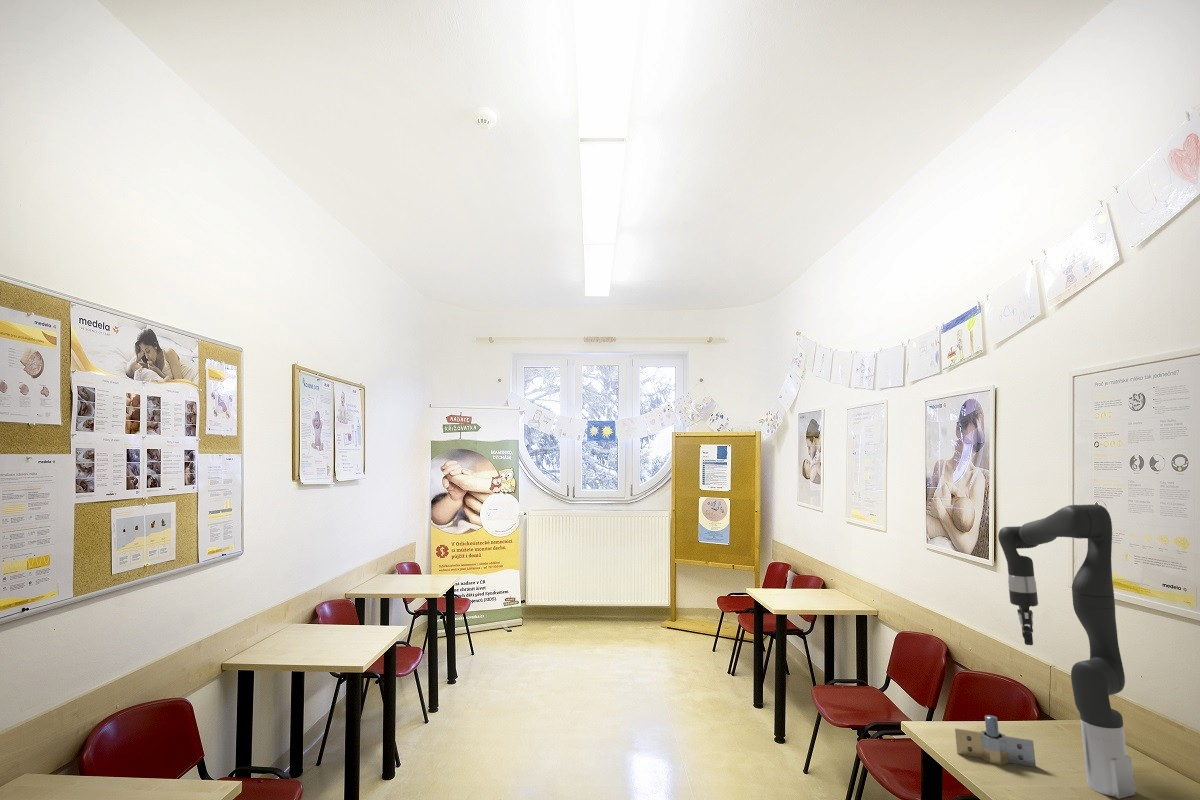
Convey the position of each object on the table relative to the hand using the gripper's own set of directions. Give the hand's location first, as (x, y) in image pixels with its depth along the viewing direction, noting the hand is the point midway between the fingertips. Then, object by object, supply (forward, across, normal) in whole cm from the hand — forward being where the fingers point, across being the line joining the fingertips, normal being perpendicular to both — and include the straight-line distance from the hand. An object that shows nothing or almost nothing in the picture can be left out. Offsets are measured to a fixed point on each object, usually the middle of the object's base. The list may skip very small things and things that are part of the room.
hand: (1027, 641), depth 203 cm
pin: (+30, -20, +12) cm, 38 cm away
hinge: (+30, -20, +12) cm, 38 cm away
